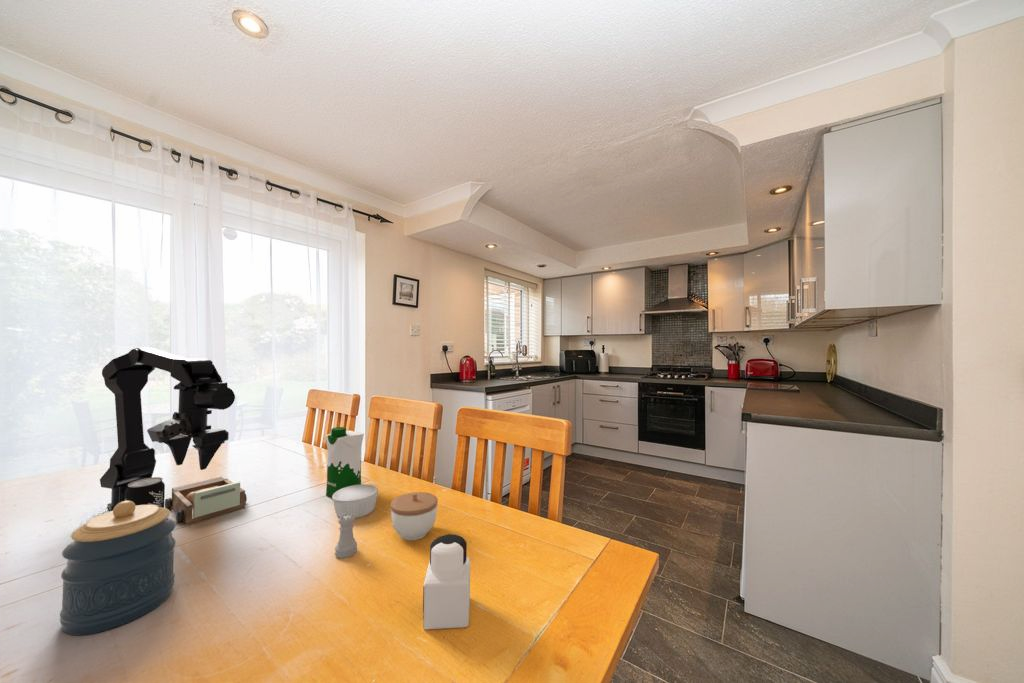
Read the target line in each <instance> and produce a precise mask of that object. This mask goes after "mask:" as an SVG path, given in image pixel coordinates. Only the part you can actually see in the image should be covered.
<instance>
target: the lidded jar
mask: <svg viewBox="0 0 1024 683" xmlns="http://www.w3.org/2000/svg"><path fill="white" fill-rule="evenodd" d="M438 500H439V499H438V497H437V496H436V495H435V494H432V493H429V492H425V491H424V492H422V491H416V492H414V491H413V492H407V493H404V494H402V495H399V496H396V497H395V498H393V500H391V503H390V511H391V512H390V513H391V514H390V515H391V522H392V527H393V529H394V531H395V533H397V535H399V536H400V537H401V539H403V540H406V541H417V540H420V539H422V538H425V537H426V535H427V534H428V533H429V532H430V530H431V529H432V528H433V526H434V524H435V522H436V519H437V518H436V517H437V512H438Z"/></svg>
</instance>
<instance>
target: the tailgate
mask: <svg viewBox="0 0 1024 683" xmlns="http://www.w3.org/2000/svg"><path fill="white" fill-rule="evenodd" d="M240 488H241V482H240V481H235V482H233V483H231V484H227V485H223V486H219V487H215V488H211V489H207V490H203V491H198V492H194V503H193V517H194V518H196V517H199V516H203V515H206V514H210V513H213V512H217V511H220V510H223V509H227V508H230V507H234V506H237V505H240Z"/></svg>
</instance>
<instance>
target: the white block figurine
mask: <svg viewBox="0 0 1024 683" xmlns="http://www.w3.org/2000/svg"><path fill="white" fill-rule="evenodd" d="M467 546H468V545H467V540H466V539H465V538H464V537H463V536H461V535H459V534H454V533H453V534H452V533H451V534H450V533H448V534H442V535H440V536H438V537H436V538H434V539H433V540H432V542H431V543H430V546H429V562H428V566H427V569H426V574H425V579H424V581H423V588H422V589H423V590H422V594H423V595H422V629H423V630H424V631H425V630H427V631H428V630H442V629H444V630H445V629H459V628H461V629H462V628H467V627H468V626H469V625H470V624H469V623H470V620H469V619H470V603H471V602H470V601H471V600H470V599H471V558H470V557H469V556H468V557H467V551H468V550H467V549H468V548H467Z"/></svg>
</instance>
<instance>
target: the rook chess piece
mask: <svg viewBox="0 0 1024 683" xmlns="http://www.w3.org/2000/svg"><path fill="white" fill-rule="evenodd" d="M355 520H356V518H354V517H353V514H351V513H349V515H347V513H345V514H344V516H343V515H341V517H339V520H338V521H337V523H338V524H339V525H340V527H339V528H338V529H339V532H340V533H339V538H338V541H337V543H336V545H335V548H334V550H335V551H334V556H335V557H336V558H338V559H347V558H350V557H352V556H354V555H355V554H356V553H357V551H358V547H357V546H358V542H357V541H356V538H354V531H353V530H354V526H355V525H354V524H353V523H354V521H355Z"/></svg>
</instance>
